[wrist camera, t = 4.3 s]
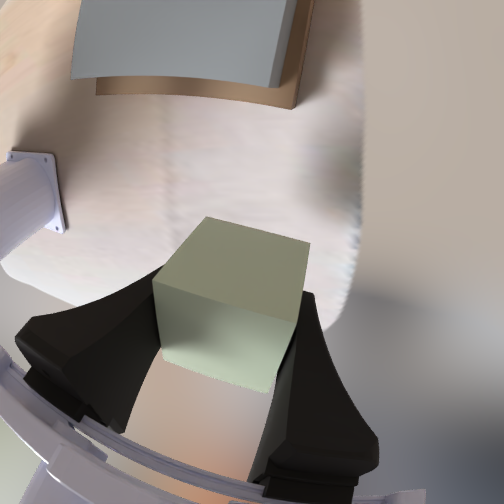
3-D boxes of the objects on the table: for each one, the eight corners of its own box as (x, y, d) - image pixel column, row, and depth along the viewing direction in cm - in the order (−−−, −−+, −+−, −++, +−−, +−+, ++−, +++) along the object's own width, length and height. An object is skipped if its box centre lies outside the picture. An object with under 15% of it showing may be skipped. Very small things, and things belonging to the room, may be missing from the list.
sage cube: (202, 293, 15) (163, 359, 11) (206, 216, 12) (152, 279, 8) (286, 317, 14) (267, 393, 10) (310, 243, 11) (296, 323, 8)
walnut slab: (120, 91, 16) (95, 95, 13) (138, -32, 10) (116, -40, 8) (296, 107, 14) (291, 109, 12) (322, -40, 8) (320, -58, 6)
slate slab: (99, 75, 13) (70, 79, 11) (120, -34, 8) (93, -42, 6) (278, 88, 12) (268, 87, 10) (307, -47, 7) (302, -69, 5)
